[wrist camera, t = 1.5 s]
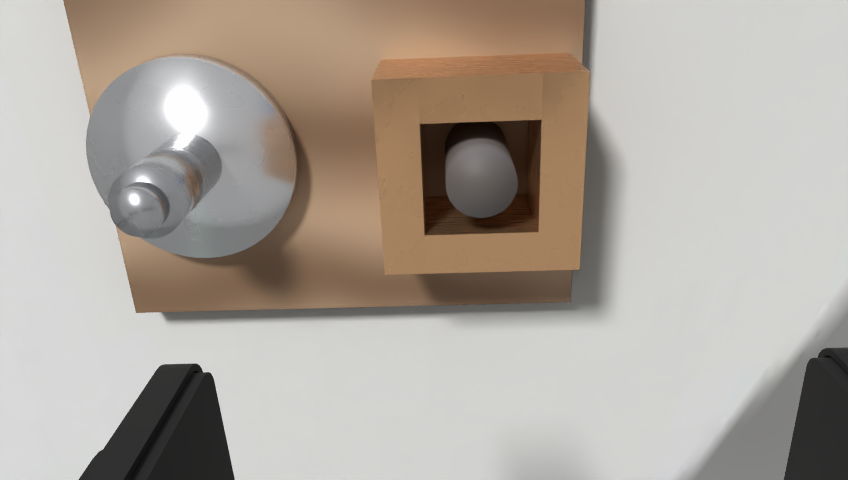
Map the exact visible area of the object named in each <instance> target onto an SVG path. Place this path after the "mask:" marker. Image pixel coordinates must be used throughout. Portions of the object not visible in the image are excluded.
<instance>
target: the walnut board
mask: <svg viewBox="0 0 848 480" xmlns="http://www.w3.org/2000/svg"><path fill="white" fill-rule="evenodd" d="M63 1H64V5H65V10H66V14H67V18H68V22H69V27H70V31H71V35H72V40H73V44H74V48H75V52H76V57H77V61H78V65H79V70H80V74H81V78H82V82H83V87H84V91H85V95H86V100H87V104H88V108H89V112H90V116H91V114H92V111H93V109H94V107H95V104H96V102H97V101H98V99H99V98H100V96H101V94H102V93H103V92H104V90H105V89H106V88H107V87H108V86H109V85H110V84H111V83H112V82H113V81H114V80H115V79H116V78H118V77H119V76H120V75H121V74H123V73H125V72H126V71H128V70H129V69H131V68H133V67H135V66H138V65H140V64H143V63H145V62H147V61H150V60H152V59H155V58H158V57H162V56H166V55H174V54H198V55H204V56H209V57H213V58H216V59H220V60H223V61H225V62H227V63H230V64H232V65H234V66H236V67H238V68H240V69H241V70H243V71H245V72H247V73H248V74H250V75H251V76H252V77H254V78H255V79H256V80H257V81H259V82H260V83H261V84H262V85H263V86H264V87H265V88H266V89H267V90H268V91H269V92H270V93H271V94H272V95H273V96H274V98H275V99H276V100H277V101H278V103H279V104H280V106H281V107H282V109H283V110H284V112H285V114H286V115H287V117H288V120H289V122H290V124H291V126H292V128H293V131H294V135H295V138H296V141H297V147H298V152H299V175H298V181H297V185H296V190H295V192H294V195H293V197H292V200H291V202H290V204H289V206H288V207H287V209H286V211H285V213H284V214H283V216H282V218H281V220H280V221H279V222H278V224H277V225H276V226H275V227H274V229H273V230H272V231H271V232H270V233H269V234H268V235H267V236H266V237H264V238H263V239H262V240H260V241H259V242H258V243H256V244H255V245H253V246H251V247H249V248H247V249H245V250H243V251H240V252H237V253H235V254H231V255H227V256H222V257H214V258H194V257H188V256H181V255H178V254H174V253H170V252H167V251H165V250H162V249H160V248H157V247H155V246H153V245H151V244H150V243H148V242H146V241H144V240H143V239H141V238H140V237H134V236H130V235H128V234H126V233H124V232H123V231H121V230H120V229H119V228H118V227H117V226H116V228H117V233H118V237H119V241H120V245H121V250H122V254H123V258H124V263H125V267H126V271H127V275H128V280H129V284H130V288H131V293H132V297H133V301H134V305H135V310H136V313H145V312H185V311H226V310H266V309H307V308H347V307H387V306H428V305H468V304H509V303H549V302H571V283H572V270H547V271H509V272H471V273H433V274H396V275H385V271H384V257H383V242H382V228H381V214H380V199H379V185H378V171H377V157H376V142H375V128H374V114H373V100H372V85H371V79H372V77H373V75H374V73H375V71H376V69H377V67H378V65H379V63H380V61H381V60H387V59H413V58H440V57H466V56H492V55H519V54H545V53H570V54H571V55H572V56H573V57H575V58H576V59H577V60H578V61H579V62H580V63H581V64H582V56H583V35H584V15H585V0H63ZM424 143H425V168H426V192H427V197H436V196H448V198H449V200H450V201H451V203H452V204H453V206H454V207H455V208H456V209H457V210H459V211H460V212H462V213H463V214H465V215H468V216H471V217H476V218H487V217H491V216H494V215H497V214H499V213H500V212H502V211H504V210H505V209H506V208H507V207H508V206H509V205H510V204H511V202H512V201H513V199H514V197H515V195H516V194H526V161H527V120H518V121H489V122H459V123H430V124H424Z"/></svg>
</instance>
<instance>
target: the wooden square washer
mask: <svg viewBox="0 0 848 480" xmlns="http://www.w3.org/2000/svg"><path fill="white" fill-rule="evenodd" d="M371 85H372V100H373V114H374V128H375V142H376V157H377V171H378V185H379V199H380V214H381V228H382V242H383V257H384V271H385V275H396V274H433V273H471V272H509V271H547V270H580V254H581V236H582V217H583V198H584V179H585V161H586V142H587V123H588V104H589V86H590V71H589V70H588V69H587V68H586V67H585V66H583V65H582V64H581V63H580V62H579V61H578V60H577V59H576V58H575V57H573V56H572V55H571V54H570V53H545V54H519V55H492V56H466V57H440V58H413V59H387V60H381V61H380V63H379V65H378V67H377V69H376V71H375V73H374V75H373V77H372V79H371ZM518 120H527V161H526V194H516V195H515V197H514V199H513V201H512V202H511V204H510V205H509V206H508V207H507V208H506V209H505V210H504V211H502V212H500V213H499V214H497V215H494V216H491V217H487V218H476V217H471V216H468V215H465V214H463V213H462V212H460V211H459V210H457V209H456V208H455V207H454V206H453V204H452V203H451V201H450V200H449V198H448V196H436V197H427V192H426V168H425V143H424V124H430V123H459V122H489V121H518Z"/></svg>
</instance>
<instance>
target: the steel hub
mask: <svg viewBox="0 0 848 480" xmlns="http://www.w3.org/2000/svg"><path fill="white" fill-rule="evenodd" d="M86 150H87V159H88V165H89V169H90V172H91V176H92V179H93V181H94V184H95V186H96V188H97V190H98V192H99V194H100V196H101V197H102V199H103V201H104V202H105V204H106V205H107V207H108V208H109V209H110V214H111V218H112V220H113V222H114V223H115V225H116V226H117V227H118V228H119V229H120V230H121V231H123V232H124V233H126V234H128V235H130V236H134V237H140V238H141V239H143V240H144V241H146V242H148V243H150V244H151V245H153V246H155V247H157V248H160V249H162V250H165V251H167V252H170V253H174V254H178V255H181V256H188V257H194V258H214V257H222V256H227V255H231V254H235V253H237V252H240V251H243V250H245V249H247V248H249V247H251V246H253V245H255V244H256V243H258V242H259V241H260V240H262V239H263V238H264V237H266V236H267V235H268V234H269V233H270V232H271V231H272V230H273V229H274V227H275V226H276V225H277V224H278V222H279V221H280V220H281V218H282V216H283V214H284V213H285V211H286V209H287V207H288V206H289V204H290V202H291V200H292V197H293V195H294V192H295V190H296V185H297V181H298V175H299V152H298V147H297V141H296V138H295V135H294V131H293V128H292V126H291V124H290V122H289V120H288V117H287V115H286V114H285V112H284V110H283V109H282V107H281V106H280V104H279V103H278V101H277V100H276V99H275V98H274V96H273V95H272V94H271V93H270V92H269V91H268V90H267V89H266V88H265V87H264V86H263V85H262V84H261V83H260V82H259V81H257V80H256V79H255V78H254V77H252V76H251V75H250V74H248V73H247V72H245V71H243V70H241V69H240V68H238V67H236V66H234V65H232V64H230V63H227V62H225V61H223V60H220V59H216V58H213V57H209V56H204V55H198V54H174V55H166V56H162V57H158V58H155V59H152V60H150V61H147V62H145V63H143V64H140V65H138V66H135V67H133V68H131V69H129V70H128V71H126V72H125V73H123V74H121V75H120V76H119V77H118V78H116V79H115V80H114V81H113V82H112V83H111V84H110V85H109V86H108V87H107V88H106V89H105V90H104V92H103V93H102V94H101V96H100V98H99V99H98V101H97V102H96V104H95V107H94V109H93V111H92V114H91V116H90V120H89V124H88V128H87V138H86Z"/></svg>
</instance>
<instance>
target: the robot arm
mask: <svg viewBox="0 0 848 480" xmlns="http://www.w3.org/2000/svg"><path fill="white" fill-rule="evenodd" d="M79 480H235V479H234V474H233V470H232V465H231V460H230V455H229V450H228V445H227V441H226V436H225V431H224V426H223V421H222V417H221V412H220V407H219V402H218V397H217V393H216V388H215V383H214V379H213V376H212V374H211V373H209V372H206V373H203V371H202V369H201V367H200V366H199V365H198V364H165V365H161V366H160V367H159V368H158V369H157V370H156V372H155V373H154V375H153V376H152V378H151V379H150V381H149V382H148V384H147V385H146V387H145V388H144V390H143V391H142V392H141V394H140V395H139V397H138V398H137V400H136V401H135V403H134V404H133V406H132V407H131V409H130V410H129V412H128V413H127V415H126V416H125V418H124V419H123V421H122V422H121V424H120V425H119V427H118V428H117V430H116V431H115V433H114V434H113V436H112V437H111V439H110V440H109V442H108V443H107V445H106V446H105V448H104V449H103V450H102V451H99V453H98V454H97V455H96V456H95V457H94V458H93V459H92V461H91V462H90V464H89V465H88V467H87V468H86V470H85V471H84V473H83V474H82V476H81V477H80V478H79ZM784 480H848V348H825V349H823V350H822V351H821V352H820V353H819V355H818V358H812V359H810V360H809V362H808V364H807V367H806V372H805V377H804V382H803V387H802V392H801V397H800V403H799V407H798V412H797V417H796V422H795V427H794V432H793V437H792V442H791V448H790V452H789V457H788V463H787V467H786V472H785V477H784Z"/></svg>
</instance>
